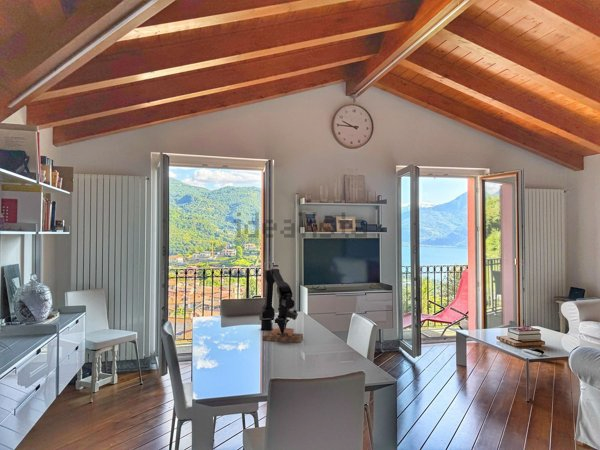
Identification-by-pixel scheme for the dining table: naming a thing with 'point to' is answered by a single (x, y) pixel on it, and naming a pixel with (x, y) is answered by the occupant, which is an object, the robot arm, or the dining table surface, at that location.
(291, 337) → the brown slotted board
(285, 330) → the tall terracotta pillar
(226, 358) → the dining table surface
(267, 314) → the robot arm
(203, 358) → the dining table surface
